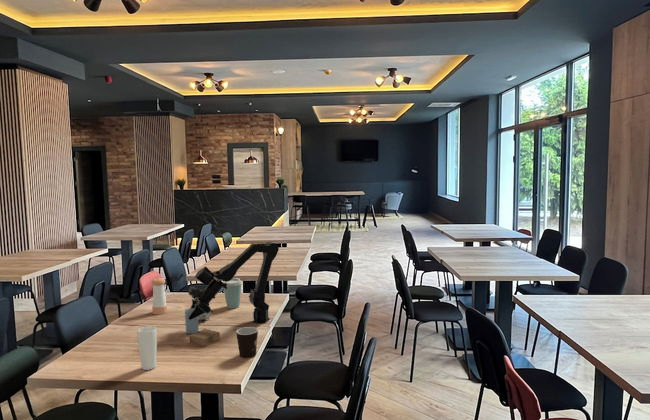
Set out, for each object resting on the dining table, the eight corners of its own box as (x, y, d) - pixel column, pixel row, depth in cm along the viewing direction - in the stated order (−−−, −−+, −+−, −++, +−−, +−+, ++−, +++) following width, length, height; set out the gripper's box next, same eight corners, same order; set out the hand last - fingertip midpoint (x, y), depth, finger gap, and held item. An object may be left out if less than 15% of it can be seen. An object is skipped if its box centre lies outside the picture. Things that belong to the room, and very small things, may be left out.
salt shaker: (170, 311, 236) (168, 276, 235) (158, 315, 230) (156, 279, 229) (161, 309, 240) (159, 274, 239) (149, 313, 234) (147, 277, 232)
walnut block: (205, 337, 198) (204, 328, 198) (219, 340, 194) (219, 332, 193) (189, 344, 191) (189, 335, 190) (204, 348, 186) (203, 338, 186)
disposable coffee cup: (240, 309, 237) (239, 282, 236) (220, 310, 237) (219, 282, 236) (244, 303, 247) (243, 277, 246) (225, 304, 248) (224, 277, 246)
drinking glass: (142, 364, 170) (140, 326, 169) (160, 363, 171) (158, 325, 169) (136, 372, 163) (134, 332, 162) (155, 371, 164) (153, 331, 163)
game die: (206, 328, 220) (206, 316, 214) (191, 321, 221) (190, 309, 215) (215, 314, 227) (216, 302, 220) (201, 308, 228) (201, 296, 222)
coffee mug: (248, 361, 171) (247, 336, 170) (232, 356, 176) (231, 332, 175) (268, 350, 181) (267, 327, 180) (252, 346, 185) (251, 323, 185)
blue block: (196, 328, 207) (195, 307, 206) (198, 331, 203) (197, 310, 202) (185, 330, 205) (184, 309, 204) (187, 333, 201) (186, 312, 200)
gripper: (195, 276, 212) (172, 302, 208) (202, 284, 195) (177, 313, 191) (212, 290, 216) (190, 315, 212) (220, 299, 199) (196, 327, 195)
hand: (188, 317), depth 203 cm, fingers closed on blue block, 5 cm apart
